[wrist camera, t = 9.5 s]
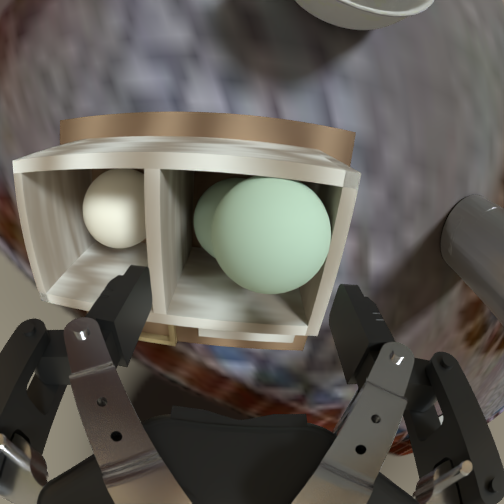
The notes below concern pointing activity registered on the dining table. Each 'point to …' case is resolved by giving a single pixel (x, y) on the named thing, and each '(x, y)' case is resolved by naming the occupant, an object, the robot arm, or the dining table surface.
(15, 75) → the dining table surface
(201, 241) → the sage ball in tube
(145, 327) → the sorting board
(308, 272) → the sage ball
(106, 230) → the cream ball
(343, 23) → the teacup
